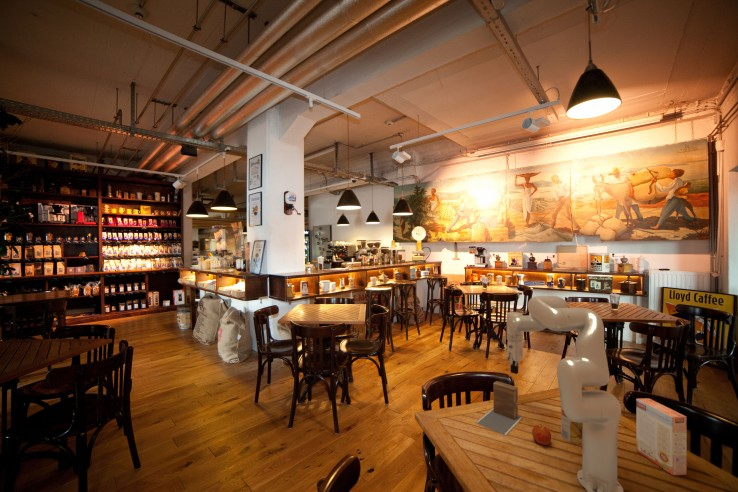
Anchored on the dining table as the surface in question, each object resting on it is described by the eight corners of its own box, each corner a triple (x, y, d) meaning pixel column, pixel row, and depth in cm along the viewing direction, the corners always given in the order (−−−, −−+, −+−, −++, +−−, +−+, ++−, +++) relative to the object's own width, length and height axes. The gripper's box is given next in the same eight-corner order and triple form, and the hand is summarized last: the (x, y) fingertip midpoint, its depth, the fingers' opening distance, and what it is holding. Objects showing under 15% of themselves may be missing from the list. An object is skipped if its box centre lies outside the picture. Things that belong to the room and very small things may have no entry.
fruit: (552, 441, 129) (552, 422, 129) (550, 450, 123) (550, 430, 123) (533, 436, 133) (533, 417, 133) (531, 444, 127) (531, 424, 127)
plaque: (514, 420, 144) (514, 389, 144) (493, 412, 151) (493, 383, 151) (517, 416, 147) (517, 387, 147) (496, 409, 154) (496, 380, 154)
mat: (506, 436, 132) (506, 435, 132) (475, 423, 142) (475, 422, 142) (523, 418, 146) (523, 417, 146) (493, 407, 156) (493, 406, 156)
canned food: (588, 441, 129) (588, 412, 129) (573, 445, 127) (573, 415, 127) (570, 431, 136) (570, 403, 136) (556, 434, 134) (556, 406, 134)
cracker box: (688, 475, 110) (687, 416, 110) (672, 476, 109) (671, 416, 109) (649, 450, 124) (649, 397, 124) (635, 450, 123) (635, 397, 123)
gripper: (516, 341, 150) (516, 379, 150) (527, 335, 161) (527, 370, 161) (501, 338, 155) (500, 375, 156) (512, 332, 166) (512, 366, 166)
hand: (514, 372), depth 158 cm, fingers closed
